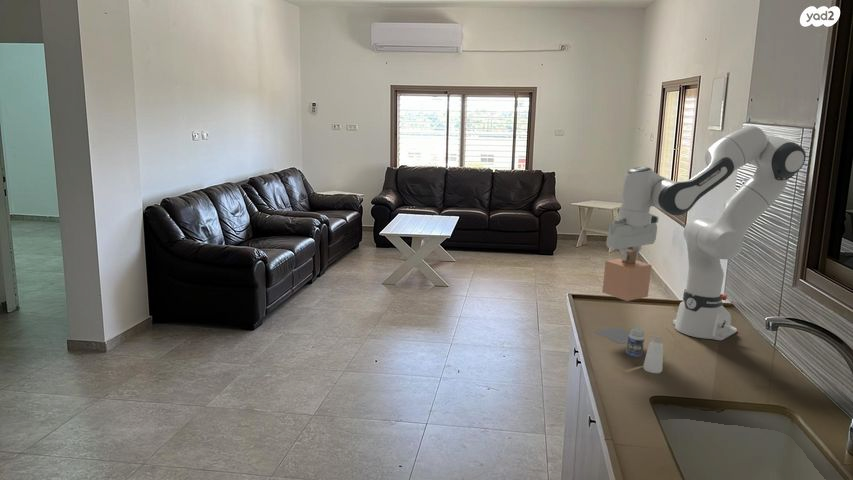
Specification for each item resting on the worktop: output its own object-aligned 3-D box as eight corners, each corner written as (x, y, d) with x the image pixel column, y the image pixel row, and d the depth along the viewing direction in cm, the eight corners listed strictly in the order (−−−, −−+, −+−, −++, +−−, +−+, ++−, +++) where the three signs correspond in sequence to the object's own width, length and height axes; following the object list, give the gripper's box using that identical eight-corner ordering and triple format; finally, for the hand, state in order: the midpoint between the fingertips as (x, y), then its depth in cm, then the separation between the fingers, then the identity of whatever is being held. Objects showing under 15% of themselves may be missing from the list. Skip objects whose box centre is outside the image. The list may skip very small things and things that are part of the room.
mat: (616, 327, 220) (616, 326, 220) (643, 339, 210) (644, 338, 210) (593, 333, 213) (593, 331, 213) (620, 345, 204) (620, 343, 204)
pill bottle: (625, 356, 196) (628, 330, 194) (626, 350, 200) (630, 325, 198) (641, 359, 194) (645, 333, 192) (642, 353, 198) (646, 328, 196)
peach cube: (622, 288, 215) (627, 246, 212) (647, 296, 207) (653, 253, 204) (602, 292, 210) (607, 249, 207) (626, 301, 202) (632, 256, 198)
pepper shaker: (662, 375, 183) (667, 339, 181) (642, 371, 185) (647, 336, 183) (662, 367, 188) (667, 333, 186) (643, 364, 190) (648, 330, 188)
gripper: (619, 222, 195) (615, 265, 198) (662, 217, 206) (657, 258, 209) (604, 218, 200) (599, 260, 203) (646, 214, 211) (641, 254, 214)
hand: (629, 259), depth 206 cm, fingers closed on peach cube, 3 cm apart
